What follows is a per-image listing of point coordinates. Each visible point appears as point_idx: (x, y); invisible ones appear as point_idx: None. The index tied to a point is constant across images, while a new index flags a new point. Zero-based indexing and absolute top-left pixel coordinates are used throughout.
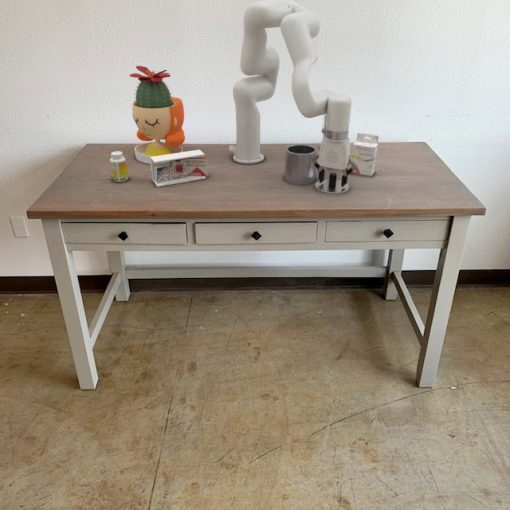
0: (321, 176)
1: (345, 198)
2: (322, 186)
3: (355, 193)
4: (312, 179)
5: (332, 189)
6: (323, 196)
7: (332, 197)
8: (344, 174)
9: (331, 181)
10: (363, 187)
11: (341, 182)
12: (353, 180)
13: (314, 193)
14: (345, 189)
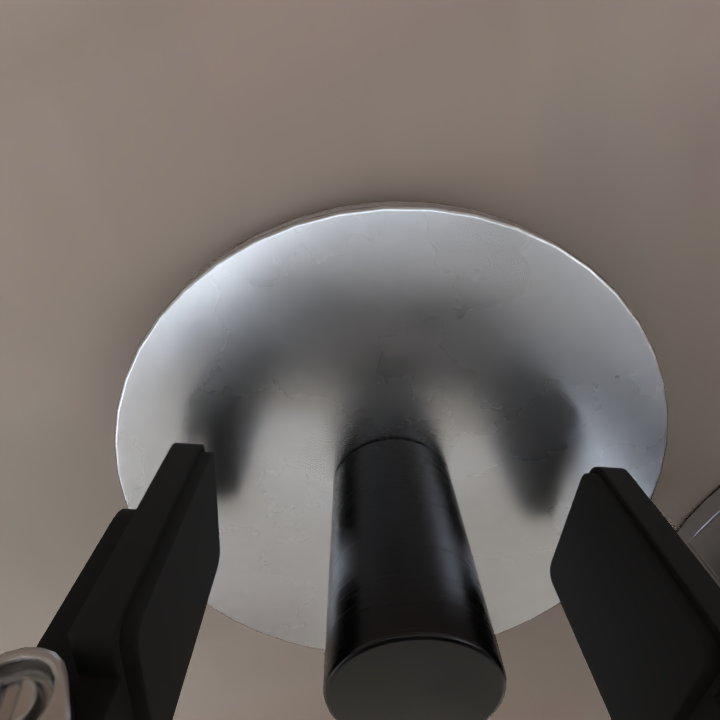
0: (660, 568)
1: (57, 176)
2: (540, 405)
3: (21, 423)
4: (715, 565)
5: (347, 349)
6: (459, 105)
7: (286, 126)
8: (45, 712)
9: (408, 505)
10: (33, 606)
11: (187, 501)
12: (217, 707)
13: (639, 182)
14: (144, 424)
